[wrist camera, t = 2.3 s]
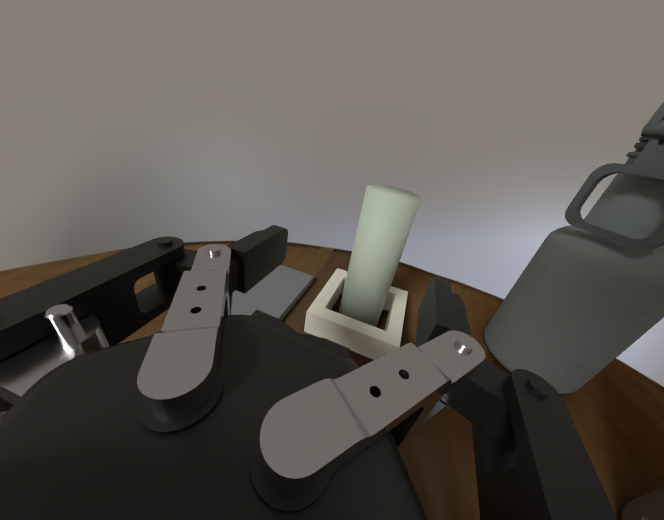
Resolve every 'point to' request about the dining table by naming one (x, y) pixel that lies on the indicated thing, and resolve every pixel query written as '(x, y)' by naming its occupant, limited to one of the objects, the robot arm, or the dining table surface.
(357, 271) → the sage canister
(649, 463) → the dining table surface
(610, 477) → the dining table surface
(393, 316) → the cream pocket
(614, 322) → the water bottle
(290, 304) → the gray mat
